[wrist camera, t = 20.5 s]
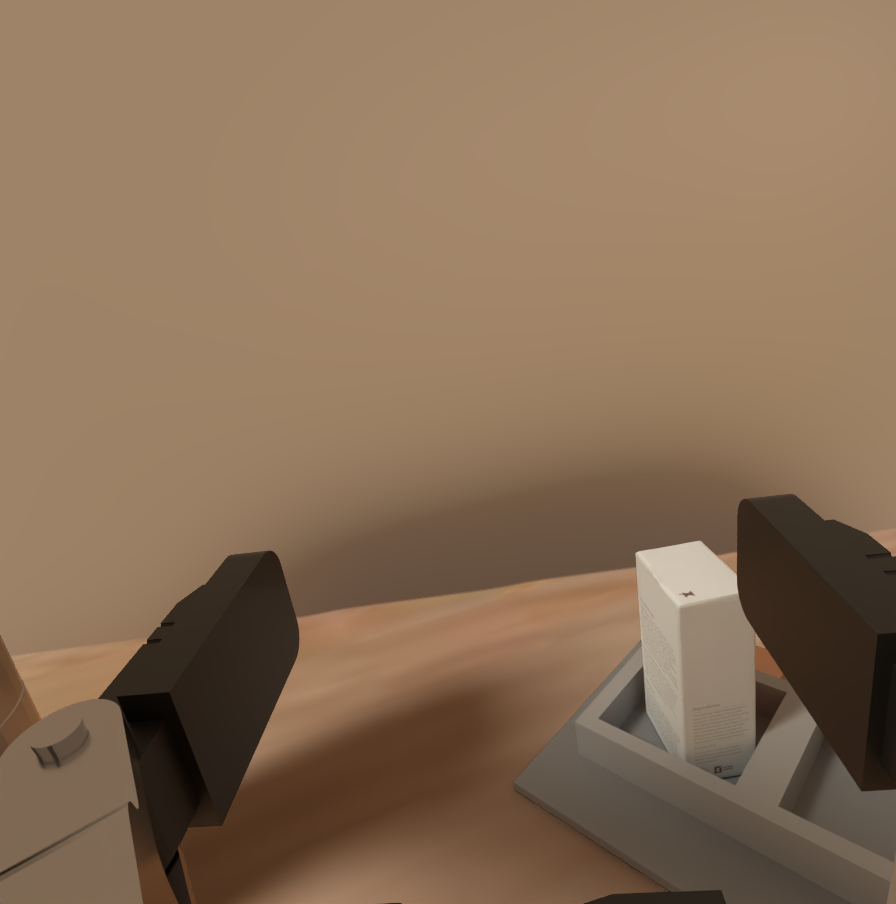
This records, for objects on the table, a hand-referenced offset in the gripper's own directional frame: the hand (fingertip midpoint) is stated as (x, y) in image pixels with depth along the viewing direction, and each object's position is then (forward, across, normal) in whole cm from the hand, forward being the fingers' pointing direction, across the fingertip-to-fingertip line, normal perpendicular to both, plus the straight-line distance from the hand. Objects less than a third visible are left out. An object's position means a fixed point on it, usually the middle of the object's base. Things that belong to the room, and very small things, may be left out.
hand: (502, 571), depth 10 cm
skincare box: (+20, -9, +26) cm, 34 cm away
